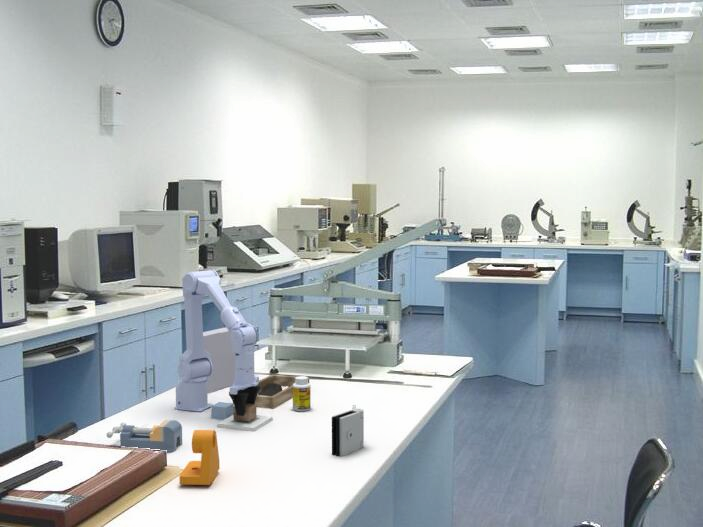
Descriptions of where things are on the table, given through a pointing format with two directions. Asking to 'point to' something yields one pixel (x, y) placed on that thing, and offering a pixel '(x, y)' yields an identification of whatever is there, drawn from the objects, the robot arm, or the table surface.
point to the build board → (245, 423)
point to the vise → (151, 436)
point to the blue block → (222, 410)
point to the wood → (271, 389)
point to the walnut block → (246, 413)
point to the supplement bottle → (301, 394)
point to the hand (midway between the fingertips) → (245, 412)
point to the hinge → (347, 431)
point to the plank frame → (279, 397)
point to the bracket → (202, 459)
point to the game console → (220, 358)
